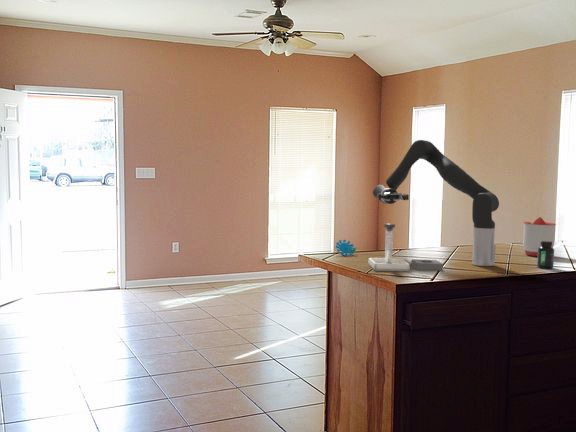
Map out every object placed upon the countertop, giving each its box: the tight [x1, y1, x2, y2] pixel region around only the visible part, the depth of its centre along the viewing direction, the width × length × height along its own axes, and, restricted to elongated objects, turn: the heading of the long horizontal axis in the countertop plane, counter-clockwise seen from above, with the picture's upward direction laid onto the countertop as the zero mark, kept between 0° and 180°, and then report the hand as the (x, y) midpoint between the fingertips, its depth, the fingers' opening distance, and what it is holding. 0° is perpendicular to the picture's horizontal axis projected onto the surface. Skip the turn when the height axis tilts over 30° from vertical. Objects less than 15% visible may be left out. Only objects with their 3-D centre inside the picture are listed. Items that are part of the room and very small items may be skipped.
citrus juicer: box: [522, 216, 557, 257], centre depth 319 cm, size 16×17×20 cm
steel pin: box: [383, 223, 396, 264], centre depth 270 cm, size 5×5×18 cm
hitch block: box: [410, 258, 444, 272], centre depth 271 cm, size 11×11×3 cm
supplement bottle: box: [536, 241, 555, 270], centre depth 279 cm, size 7×7×12 cm
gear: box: [335, 239, 358, 257], centre depth 306 cm, size 11×6×10 cm
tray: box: [367, 257, 411, 272], centre depth 270 cm, size 15×17×3 cm
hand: (395, 197), depth 286 cm, fingers open, 8 cm apart
